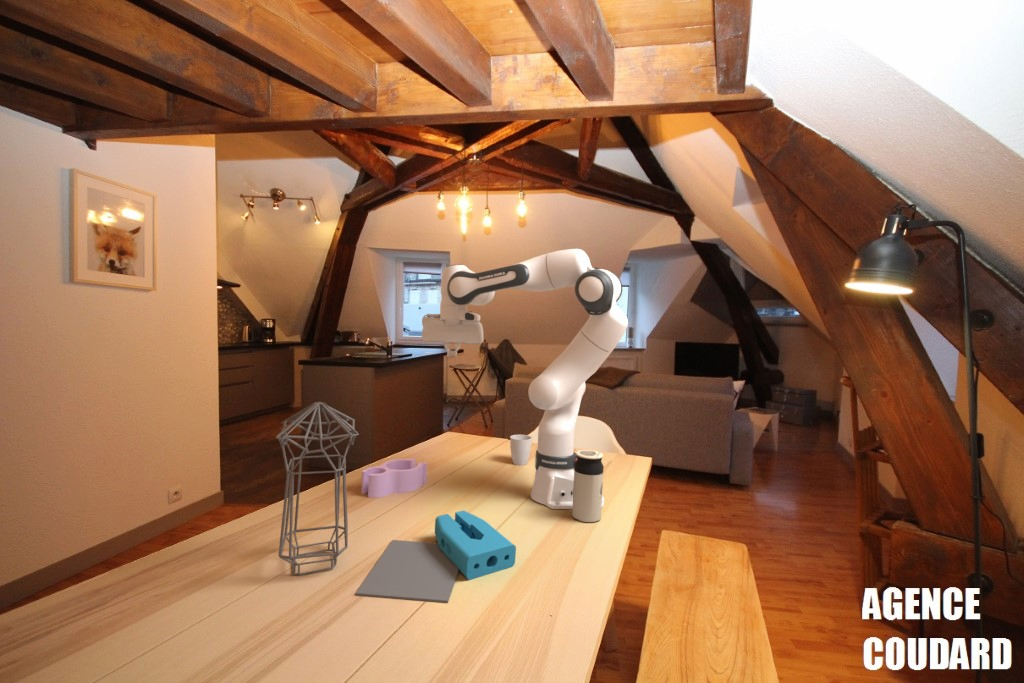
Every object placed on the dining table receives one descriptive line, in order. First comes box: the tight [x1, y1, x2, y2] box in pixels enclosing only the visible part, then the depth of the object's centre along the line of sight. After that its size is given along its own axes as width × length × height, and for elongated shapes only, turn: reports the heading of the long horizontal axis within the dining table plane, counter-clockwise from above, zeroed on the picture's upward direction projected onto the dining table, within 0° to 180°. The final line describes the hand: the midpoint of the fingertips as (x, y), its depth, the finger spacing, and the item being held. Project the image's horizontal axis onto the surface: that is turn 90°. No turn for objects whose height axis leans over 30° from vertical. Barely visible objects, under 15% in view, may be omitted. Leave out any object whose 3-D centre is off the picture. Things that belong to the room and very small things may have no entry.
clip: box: [361, 457, 428, 499], centre depth 147 cm, size 20×12×7 cm, turn 137°
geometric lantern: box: [275, 401, 360, 577], centre depth 101 cm, size 16×16×35 cm
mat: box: [355, 539, 460, 604], centre depth 101 cm, size 18×22×1 cm
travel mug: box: [571, 449, 604, 523], centre depth 131 cm, size 8×8×18 cm
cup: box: [509, 434, 533, 466], centre depth 177 cm, size 8×8×10 cm
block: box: [434, 510, 517, 581], centre depth 108 cm, size 12×5×20 cm
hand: (452, 356), depth 155 cm, fingers closed
